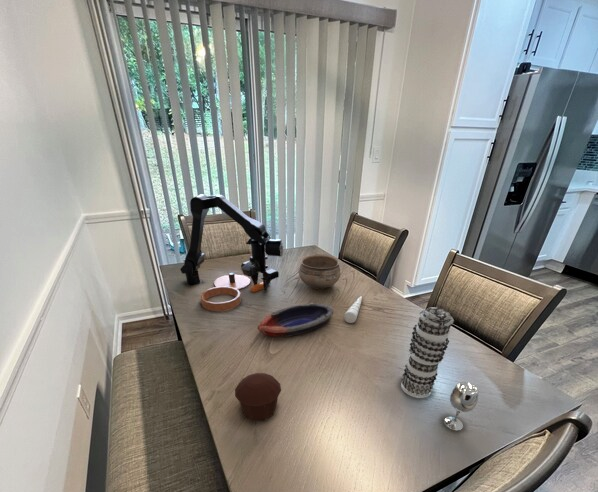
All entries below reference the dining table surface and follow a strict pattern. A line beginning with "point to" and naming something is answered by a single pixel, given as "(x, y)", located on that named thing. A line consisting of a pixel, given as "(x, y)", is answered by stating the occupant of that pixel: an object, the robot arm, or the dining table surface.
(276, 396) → the muffin
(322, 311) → the dish
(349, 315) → the unicorn horn
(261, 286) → the carrot
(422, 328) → the decorative candle
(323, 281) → the cooking pot
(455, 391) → the wineglass
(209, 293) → the faceted terracotta bowl
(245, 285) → the lid
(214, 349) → the dining table surface
